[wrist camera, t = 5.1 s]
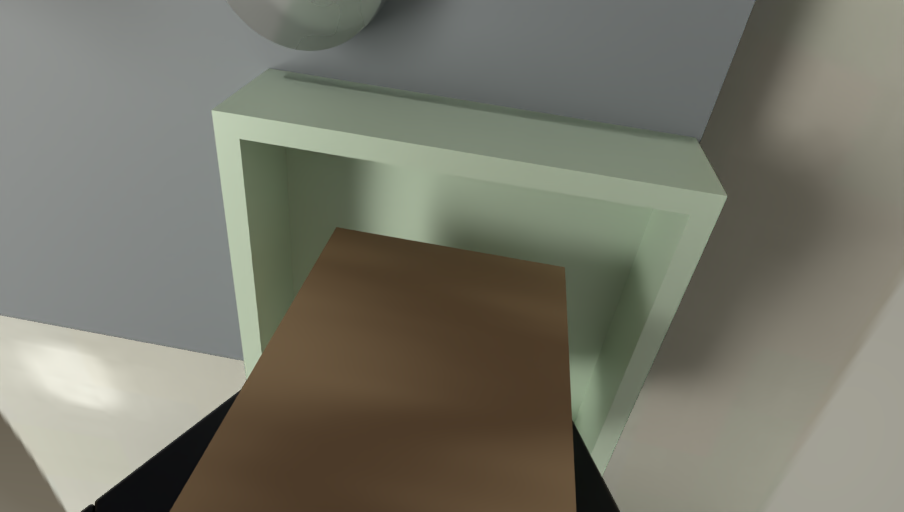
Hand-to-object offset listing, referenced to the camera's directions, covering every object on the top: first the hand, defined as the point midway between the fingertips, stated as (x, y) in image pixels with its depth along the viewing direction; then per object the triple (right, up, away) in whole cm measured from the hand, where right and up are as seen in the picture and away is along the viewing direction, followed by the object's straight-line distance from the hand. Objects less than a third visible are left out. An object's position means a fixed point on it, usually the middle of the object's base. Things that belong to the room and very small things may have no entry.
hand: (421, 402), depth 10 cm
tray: (+1, +2, +3) cm, 4 cm away
